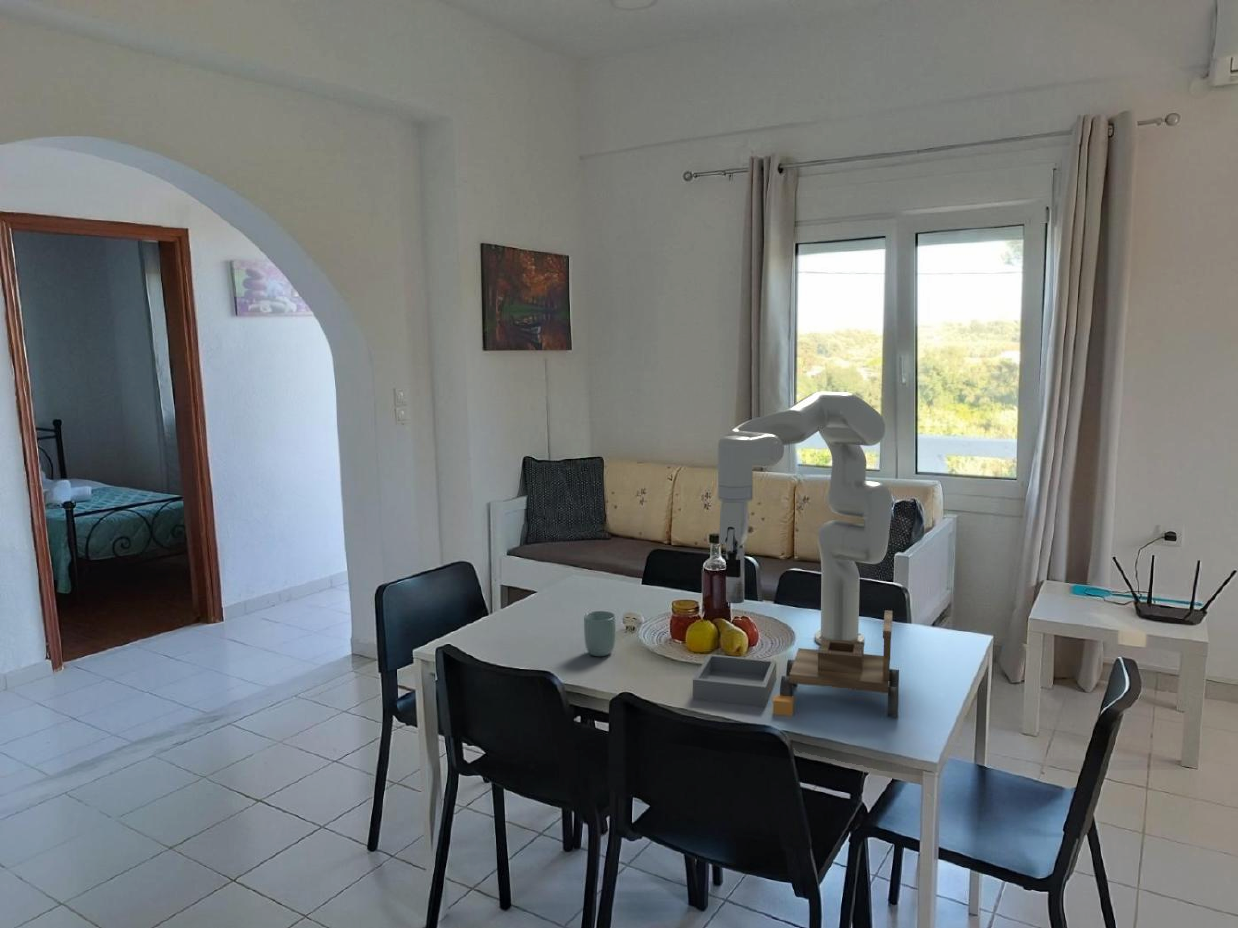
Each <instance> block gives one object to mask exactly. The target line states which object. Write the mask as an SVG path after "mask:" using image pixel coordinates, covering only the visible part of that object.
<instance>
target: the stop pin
mask: <svg viewBox="0 0 1238 928" xmlns="http://www.w3.org/2000/svg"><path fill="white" fill-rule="evenodd" d="M734 550H735V551H736V548H734ZM739 559H741V576H740V577H739V578H736V577H726V576H725V587H726V588H725V601H726V602H727V603H729V604H741V603H744V602H745V546H744V547H740V550H739Z"/></svg>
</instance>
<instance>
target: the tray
mask: <svg viewBox="0 0 1238 928" xmlns="http://www.w3.org/2000/svg"><path fill="white" fill-rule="evenodd" d="M776 681H777V660H772V659H765V658H763V659H761V658H753V657H752V658H751V657H742V656H732V655H731V656H730V655H723V654H722V655H721V654H712V653H711V654H709V653H708V654H707V656H706V658H705V659H704V661H703V662H702V664H701V666H700V668H699V669H698V670H697V672H696V673H695V675H694V677H693V678H692V699H693V700H698V701H707V702H715V703H716V702H718V703H725V704H733V705H734V704H736V705H743V706H744V705H745V706H751V707H762V708H767V705H768V702H769V700H770V697H771V694H772V692H773V689H774V687H775V684H776Z"/></svg>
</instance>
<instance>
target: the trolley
mask: <svg viewBox="0 0 1238 928" xmlns="http://www.w3.org/2000/svg"><path fill="white" fill-rule="evenodd" d="M892 629H893V610H884V616H883V627H882V639H883V655H878V654H877V655H876V654H868V653H864V652H865V651H864V649H865V641H864V642H856V641H845V640H833V639H822V640H821V643H820V644H819V648H818V649H810V648H800V647H799V648H798V649H797V651H796V654H795V657H794V659H787V662H786V668H785V669H786V672H785V675H782V676H781V679H780V687H779V695H781V696H790V697H793V695H794V694H793V692H794V688H797V686H798V685H807V686H816V687H825V688H827V687H828V688H835V689H844V690H845V689H846V690H854V691H865V692H873V693H874V692H875V693H886V694H887V717H893V718H894V717H895V718H898V717H899V713H898V712H899V688H900V687H899V684H900V683H899V682H900V670H899V669H892V668H890V667H891V664H890V663H891V645H892V644H891V642H892Z"/></svg>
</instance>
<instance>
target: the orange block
mask: <svg viewBox="0 0 1238 928" xmlns="http://www.w3.org/2000/svg"><path fill="white" fill-rule="evenodd" d="M794 711H795V696H792V697H790V696H781V695H780V694H774V697H773V700H772V714H773V715H779V716H787V717H793V714H794Z"/></svg>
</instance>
